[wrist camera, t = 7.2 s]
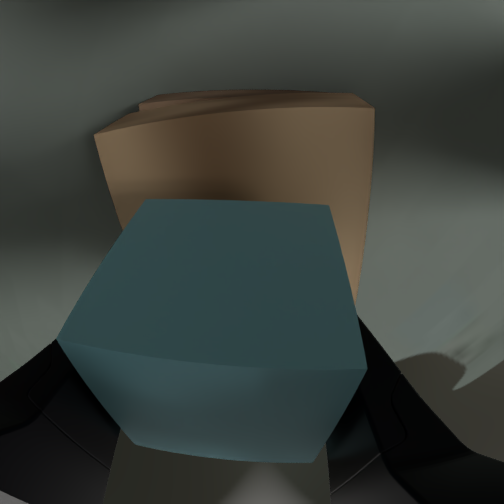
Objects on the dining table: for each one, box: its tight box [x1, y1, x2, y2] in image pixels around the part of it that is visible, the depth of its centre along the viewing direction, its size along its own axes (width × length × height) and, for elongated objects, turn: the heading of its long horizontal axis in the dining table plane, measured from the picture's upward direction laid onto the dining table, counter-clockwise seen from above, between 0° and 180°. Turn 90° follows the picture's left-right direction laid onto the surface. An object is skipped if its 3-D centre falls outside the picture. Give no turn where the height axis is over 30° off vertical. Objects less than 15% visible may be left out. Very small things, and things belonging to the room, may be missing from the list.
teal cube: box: [56, 199, 368, 463], centre depth 8 cm, size 5×5×5 cm
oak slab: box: [94, 93, 375, 304], centre depth 13 cm, size 9×9×3 cm
